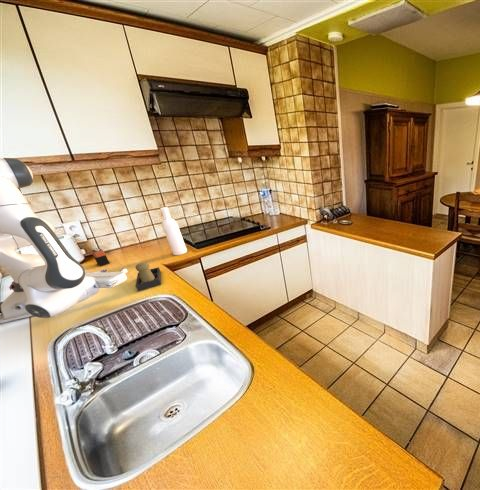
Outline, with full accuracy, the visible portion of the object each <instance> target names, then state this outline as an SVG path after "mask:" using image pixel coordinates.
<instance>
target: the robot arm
mask: <svg viewBox="0 0 480 490" xmlns="http://www.w3.org/2000/svg"><path fill="white" fill-rule="evenodd" d="M32 171H33V170H32V169H31V168H30V167H29V166H28V165H27V164H25V162H24V161H22V160H21V159H18V158H13V157H12V158H11V157H3V158H0V267H2V268H3V269H4V270H5V271H6V272H7V273H8V275H9V276H10V277H11V278H12V280H13V281H12V282H11V284H10V285H9V287H8V289H9V290H10V291H12V292H11V293H10V294H9V295H8V296H7V297H6V299H4V300H3V301H0V324H3V323H8V322H13V321H17V320H20V319H26V318H30V317H36V318H39V319H51V318H53V317H56V316H58V315H61V314H63V313H65V312H67V311H68V310H70V309H72V308H74V307H75V306H76V305H77V304H79V303H81V302H84V301H86V300H88V299H90V298H91V297H93V296H95V295H97V294H98V293H99V292H100V289H109V288H113V287H116V286H118V285H120V284H122V283H124V282H126V281H127V280H128V276H127V273H128V272H129V271H128V269H127V268H122V269H119V271H108V269H107V268H102V269H100V270H97V271H93V272H86V270H85V268H84V266H83V265H82V264H81V263H80V262H79V261H78V260H76V259H75V258H74V257H73V256H72V255H71V254H70V252H69V251H68V249H67V248H66V247H65V246H64V244H63V243H62V242H61V240H60V239H59V237H58V236H57V235H56V228H55V225H53V223H52V222H51V221H49V220H47V219H45V218H42V217H39V216H38V215H37V214H36V213H35V211H34V210H33V209H32V207H31V206H30V204H29V202H28V200H27V199H26V197H25V195H24V194H23V193H22V191H21V190H20V189H24V188H27V187H30V186H31V185H32V184H33V183H34V174H33V172H32ZM28 246H29V247H30V246H32V247H33V248H34V250H35V251H36V252H37V254H32V253H18V252H17V251H16V250H18V249H21V248H25V247H28Z"/></svg>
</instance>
